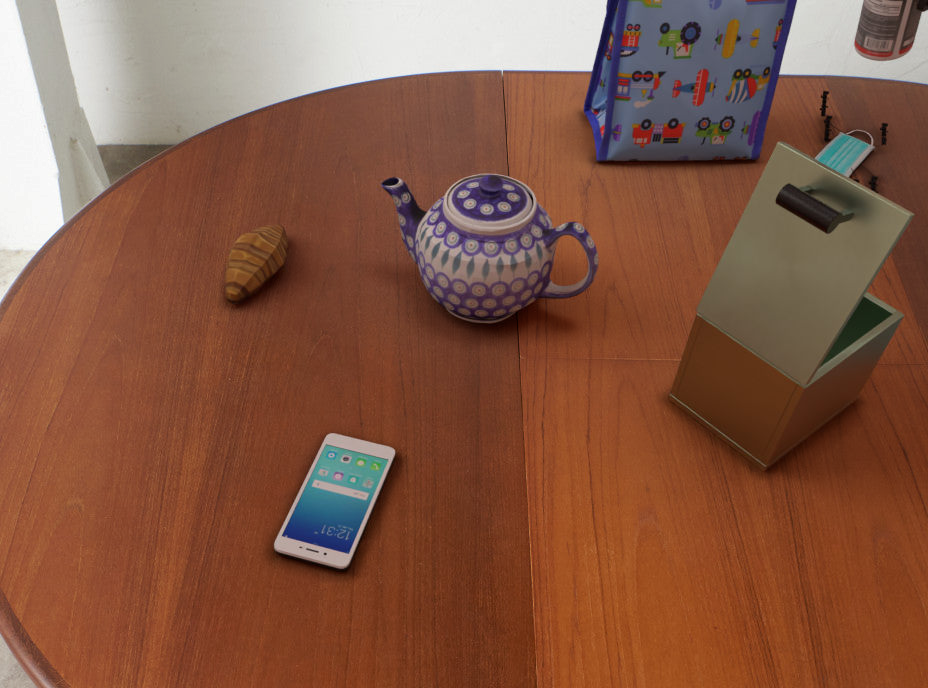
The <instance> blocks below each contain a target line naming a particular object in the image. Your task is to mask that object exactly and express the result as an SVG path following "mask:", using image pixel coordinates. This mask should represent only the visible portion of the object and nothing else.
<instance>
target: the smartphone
mask: <svg viewBox="0 0 928 688" xmlns="http://www.w3.org/2000/svg"><path fill="white" fill-rule="evenodd" d="M395 461H396V450H395V449H394V448H393V447H392V446H388V445H384V444H379V443H376V442H371V441H367V440H363V439H359V438H356V437H352V436H347V435H344V434H343V435H342V434H339V433H334V432H331V433H328V434H327V435H326V436H325V438H324V440H323V442H322V444H321V446H320V448H319V449H318V452H317V454H316V456H315V458H314V460H313V463H311V465H310V466H311V467H310V468H309V470H308V473H307V474H306V476H305V478H304V480H303V483H302V485H301V487H300V489H299V491H298V493H297V495H296V497H295V498H294V502H293V503H292V505H291V507H290V509H289V512H288V514H287V516H286V518H285V520H284V522H283V524H282V526H281V528H280V530H279V531H278V534H277V536H276V538H275V541H274V543H273V550H274V552H275V553H276V554H277V555H279V556H283V557H286V558H290V559H294V560H297V561H302V562H305V563H308V564H312V565H316V566H320V567H323V568H327V569H331V570H334V571H338V572H346V571H348V570H349V568H350V567H351V565H352V563H353V560H354V557H355V556H356V553H357V550H358V548H359V546H360V544H361V542H362V540H363V536H364V534H365V532H366V530H367V528H368V525H369V522H370V520H371V517H372V515H373V513H374V510H375V508H376V505H377V503H378V500H379V499H380V496H381V493H382V491H383V488H384V486H385V485H386V481H387V479H388V476H389V474H390V472H391V469H392V467H393V465H394V462H395Z"/></svg>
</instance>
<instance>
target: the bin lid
mask: <svg viewBox="0 0 928 688" xmlns="http://www.w3.org/2000/svg"><path fill="white" fill-rule="evenodd" d="M814 158H815V157H813V156H811V155H809V154H807V153H805V152H803V151H802V150H800V149H798V148H796V147H794V146H792V145H791V144H788V143H787V142H785V141H784V140H783V141H781V140H780V141H777V143H776V145H775V147H774V149H773V150H772V153H771V155H770V158H769V159H768V161H767V163H766V165H765V168H764V169H763V171H762V174H761V175H760V177H759V179H758V182H757V183H756V186H755V188H754V190H753V192H752V194H751V196H750V198H749V200H748V202H747V203H746V206H745V208H744V210H743V213H742V214H741V216H740V219H739V221H738V223H737V225H736V226H735V228H734V231H733V233H732V234H731V237H730V239H729V240H728V243H727V245H726V247H725V249H724V251H723V253H722V255H721V257H720V260H718V261H719V262H718V263H717V265H716V268H715V269H714V272H713V274H712V276H711V278H710V279H709V282H708V284H707V285H706V288H705V290H704V292H703V294H702V296H701V298H700V300H699V302H698V304H697V306H696V308H695V312H697V313H700V314H701V315H703V316H704V317H706V318H707V319H709V320H710V321H711V322H713V323H714V324H716V325H717V326H719V327H720V328H722V329H723V330H725V331H726V332H727V333H729V334H730V335H732V336H733V337H735V338H736V339H738V340H739V341H740V342H742V343H743V344H745V345H746V346H748V347H749V348H751V349H752V350H754V351H755V352H756V353H758V354H759V355H761V356H762V357H764V358H765V359H767V360H768V361H770V362H771V363H772V364H774V365H775V366H777V367H778V368H780V369H781V370H783V371H784V372H785V373H787V374H788V375H790V376H791V377H793V378H794V379H796V380H797V381H799V382H800V383H801V384H803V385H804V386H805V385H807V384H809V383H810V381H811V380H812V378H813V376H814V375H815V373H816V372H817V370H818V368H819V367H820V365H821V364H822V362H823V360H824V359H825V357H826V356H827V354H828V352H829V351H830V349H831V348H832V346H833V344H834V343H835V341H836V340H837V338H838V336H839V335H840V333H841V332H842V330H843V328H844V327H845V325H846V324H847V322H848V320H849V319H850V317H851V316H852V314H853V312H854V311H855V309H856V308H857V306H858V304H859V303H860V301H861V300H862V298H863V296H864V295H865V293H866V292H868V290H869V289H870V287H871V286H872V284H873V282H874V280H875V279H876V277H877V276H878V274H879V273H880V271H881V270H882V268H883V266H884V265H885V263H886V261H887V260H888V258H889V256H890V255H891V253H892V251H893V250H894V249H895V248H896V245H897V244H898V242H899V240H900V239H901V238H902V236H903V234H904V232H905V231H906V229H907V228H908V226H909V225H910V223H911V221H912V220H913V218H914V217H915V215H916V214H915V213H913V212H911V211H910V210H908V209H906V208H904V207H903V206H902V205H900V204H897V203H896V202H894V201H892V200H890V199H888V198H887V197H884V196H883V195H881V194H880V193H876V192H877V191H875V192H874V191H872V190H871V188H869V187H867V186H865V185H863V184H861V183H860V182H859V183H857V182H856V181H854V180H853V179H852V178H851V177H849V178H848V177H847V176H845V175H843V174H841V173H839V172H838V171H836V170H834V169H832V168H830V167H828V166H827V165H825V164H823V163H821V162H819V161H818V160H816V159H814Z"/></svg>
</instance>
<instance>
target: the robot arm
mask: <svg viewBox="0 0 928 688" xmlns="http://www.w3.org/2000/svg"><path fill="white" fill-rule="evenodd" d="M917 9H918V10H920V11H922V13H925V12H927V11H928V0H920V1H919V3H918V5H917Z"/></svg>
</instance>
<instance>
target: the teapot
mask: <svg viewBox="0 0 928 688" xmlns="http://www.w3.org/2000/svg"><path fill="white" fill-rule="evenodd" d="M380 186H381V188H382V189H383V190H384V191H386V192H387V194H388V195H389V196H390V197H391V199H392V200H393V203H394V204H395V207H396V212H397V218H398V222H399V229H400V234H401V239H402V242H403V244H404V246H405V249H406V250H407V253H408V255H409V256H410V258H411V259H412V260H413V261H414V263H415V264H416V265H417V267H418V271H419V275H420V278H421V280H422V283H423V285H424V287H425V289H426V290H427V292H428V294H429V295H430V296H431V297H432V299H433V300H435V301H436V302H437V303H438V304H439V305H441V306H442V307H443V308H445V309H446V310H447V312H449V314H451V315H453V316H454V317H456V318H458V319H461V320H462V321H467V322H471V323H478V324H494V323H498V322H501V321H504V320H506V319H508V318H510V317H511V316H513V315H514V314H516V312H518V311H520V310H522V309H524V308H526V307H527V306H528V305H530V304H532V303H533V302H535V301H536V300H538V299H550V300H560V299H561V300H563V299H569V298H574V297H577V296H578V295H579V296H580V294H582V293H584V292H585V291H587V289H589V287H591V285H592V284H593V282H594V281H595V279H596V276H597V273H598V269H599V261H600V259H599V253H598V250H597V246H596V244H595V241H594V239H593V238H592V236H591V234H590V233H589V231H588V230H587V229H586V228H585V226H583V225H582V224H581V223H578V222H577V221H567V222H565V223H562V224H560V225H558V226H556V227H554V225H553V221H552V218H551V216H550V215H549V213H548V211H547V210H546V209H545V208H544V207H543V206H542V205H541V204H540V202H538V201H537V198H536V195H535V193H534V191H533V190H532V189H531V187H529V186H528V185H527V184H526V183H524V182H523V181H520V180H519V179H516V178H513V177H511V176H507V175H503V174H498V173H478V174H473V175H469V176H466V177H463V178H461V179H458V180H457V181H456V182H454V183H453V184H452V185H451V186H450V187H449V188H448V189H447V190H446V192H445V194H444V195H443V196H442V197H440V198H439V199H438V200H437V201H436V202H435V203H434V204H433V205H432V206H431V207H430V208H429V209H428V210H427V211H426V210H423V209H422V208H421V207H420V206H419V204H418V202H417V201H416V199H415V197H414V194H413V192H412V191H411V189H410V188H409V186H408V185H407V183H406V182H405V181H404V180H403V179H402V178H400V177H396V176H395V177H394V176H393V177H389V178H386V179H384V180H383V181H382V182H381V183H380ZM564 236H571V237H573V238H575V240H577V242H578V243H579V244H580V246H581V248H582V249H583V251H584V253H585V256H586V259H587V264H588V265H587V267H588V268H587V272H586V275H585V276H584V277H583V278H582V279H581V280H580V281H578V282H577V283H574V284H571V285H570V284H569V285H558V284H555V283H553V281H552V280H551V273H552V271H553V266H554V261H555V254H556V249H557V244H558V242H559V240H560V239H561V238H563V237H564Z"/></svg>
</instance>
